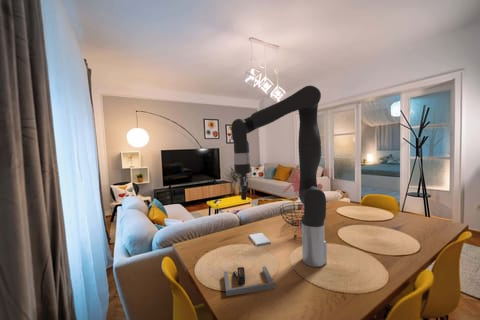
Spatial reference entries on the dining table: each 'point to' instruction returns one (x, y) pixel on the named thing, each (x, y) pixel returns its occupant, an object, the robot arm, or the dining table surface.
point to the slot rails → (249, 288)
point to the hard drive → (259, 239)
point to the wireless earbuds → (240, 275)
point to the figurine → (296, 189)
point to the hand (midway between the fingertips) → (243, 199)
